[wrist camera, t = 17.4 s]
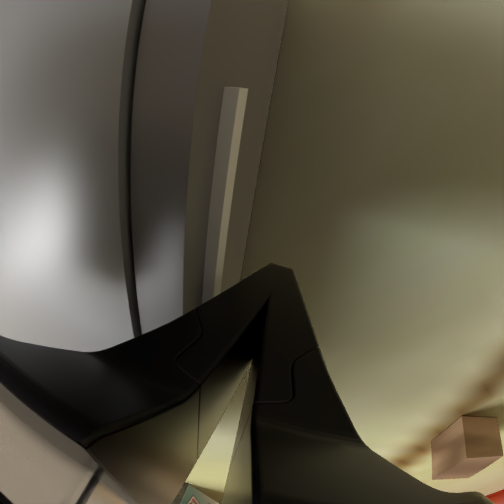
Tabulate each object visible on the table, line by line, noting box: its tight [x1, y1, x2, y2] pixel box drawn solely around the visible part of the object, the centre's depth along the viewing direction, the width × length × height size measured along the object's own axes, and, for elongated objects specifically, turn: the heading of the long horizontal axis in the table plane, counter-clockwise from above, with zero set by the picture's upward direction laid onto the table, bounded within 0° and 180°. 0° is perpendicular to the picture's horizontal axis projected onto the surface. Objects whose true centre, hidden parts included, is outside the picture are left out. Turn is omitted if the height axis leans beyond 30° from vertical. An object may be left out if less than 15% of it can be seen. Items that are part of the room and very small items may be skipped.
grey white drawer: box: [130, 0, 289, 334], centre depth 11 cm, size 18×20×6 cm
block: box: [431, 416, 503, 480], centre depth 14 cm, size 4×4×4 cm
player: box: [0, 0, 146, 352], centre depth 11 cm, size 18×20×6 cm
